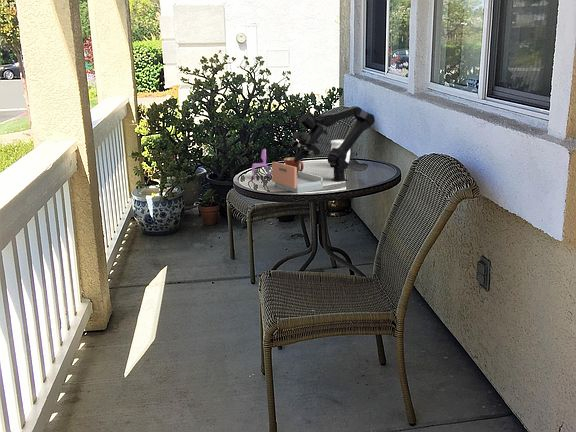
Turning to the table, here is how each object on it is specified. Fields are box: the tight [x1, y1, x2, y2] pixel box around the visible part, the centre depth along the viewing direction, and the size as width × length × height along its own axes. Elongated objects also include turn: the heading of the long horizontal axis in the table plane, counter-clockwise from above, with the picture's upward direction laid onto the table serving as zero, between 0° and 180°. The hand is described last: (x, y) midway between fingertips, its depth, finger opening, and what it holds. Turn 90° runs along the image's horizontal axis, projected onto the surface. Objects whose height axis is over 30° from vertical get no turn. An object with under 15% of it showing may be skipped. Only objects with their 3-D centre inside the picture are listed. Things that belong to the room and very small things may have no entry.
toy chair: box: [251, 148, 272, 180], centre depth 307 cm, size 8×9×15 cm
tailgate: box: [271, 161, 297, 188], centre depth 276 cm, size 2×20×10 cm, turn 31°
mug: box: [283, 156, 304, 175], centre depth 300 cm, size 12×9×10 cm
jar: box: [330, 138, 351, 168], centre depth 324 cm, size 11×10×15 cm
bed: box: [274, 171, 324, 194], centre depth 281 cm, size 14×21×6 cm
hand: (294, 161), depth 278 cm, fingers closed
